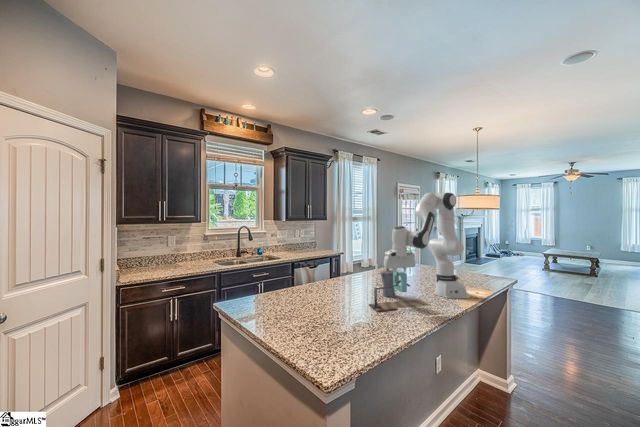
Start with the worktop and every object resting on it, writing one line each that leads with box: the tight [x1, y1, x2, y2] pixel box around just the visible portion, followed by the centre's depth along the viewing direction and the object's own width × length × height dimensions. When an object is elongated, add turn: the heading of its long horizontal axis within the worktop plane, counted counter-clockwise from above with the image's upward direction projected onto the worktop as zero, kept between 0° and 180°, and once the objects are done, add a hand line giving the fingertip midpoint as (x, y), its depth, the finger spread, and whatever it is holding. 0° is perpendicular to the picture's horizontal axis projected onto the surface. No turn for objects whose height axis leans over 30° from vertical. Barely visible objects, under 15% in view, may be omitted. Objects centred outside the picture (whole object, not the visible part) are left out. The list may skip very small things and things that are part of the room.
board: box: [368, 298, 431, 313], centre depth 172 cm, size 36×12×1 cm, turn 104°
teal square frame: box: [393, 269, 408, 293], centre depth 172 cm, size 3×11×11 cm, turn 14°
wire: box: [369, 279, 411, 309], centre depth 171 cm, size 26×5×15 cm, turn 104°
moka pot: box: [380, 268, 396, 298], centre depth 192 cm, size 10×15×20 cm, turn 132°
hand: (399, 275), depth 172 cm, fingers closed on teal square frame, 3 cm apart
